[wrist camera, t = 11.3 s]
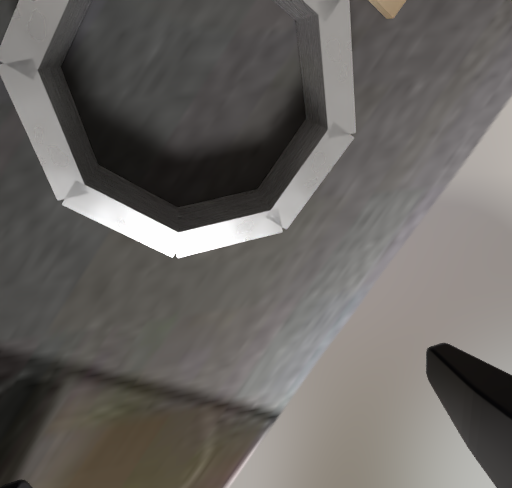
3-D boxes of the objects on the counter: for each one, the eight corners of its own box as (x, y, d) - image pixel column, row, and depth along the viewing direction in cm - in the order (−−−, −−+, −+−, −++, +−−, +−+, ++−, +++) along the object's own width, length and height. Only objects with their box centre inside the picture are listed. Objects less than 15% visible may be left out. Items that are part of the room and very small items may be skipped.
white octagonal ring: (-9, 137, 16) (-44, 154, 14) (128, -179, 13) (116, -238, 10) (233, 260, 21) (241, 290, 19) (378, 55, 18) (414, 56, 15)
